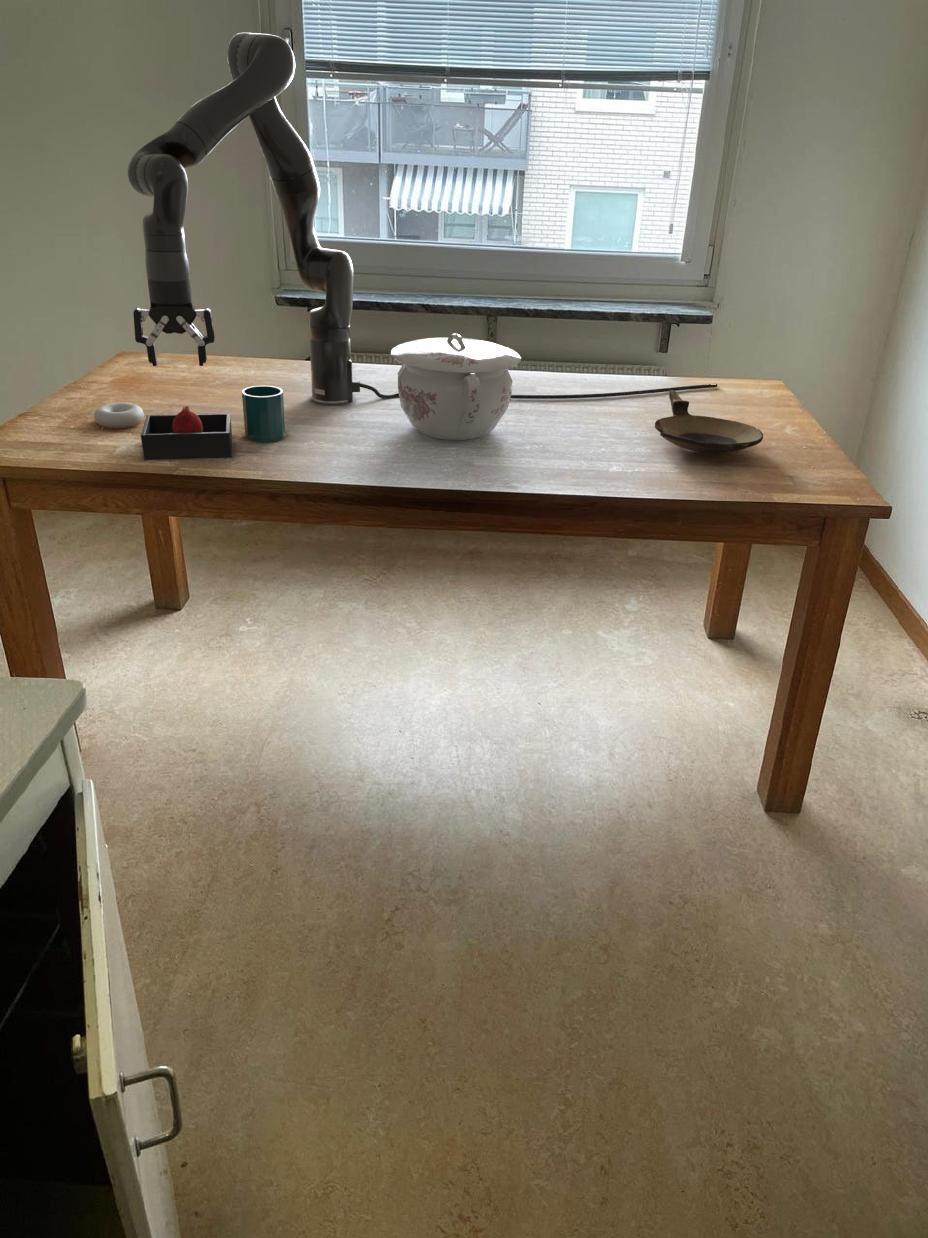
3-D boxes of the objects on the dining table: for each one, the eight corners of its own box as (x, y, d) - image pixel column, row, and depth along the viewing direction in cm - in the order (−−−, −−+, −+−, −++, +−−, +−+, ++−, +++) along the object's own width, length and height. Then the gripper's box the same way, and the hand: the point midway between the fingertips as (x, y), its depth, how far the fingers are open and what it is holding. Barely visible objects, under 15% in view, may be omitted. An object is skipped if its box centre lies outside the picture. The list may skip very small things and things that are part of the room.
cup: (284, 429, 191) (282, 385, 186) (286, 442, 184) (283, 396, 180) (245, 430, 190) (241, 385, 185) (245, 443, 183) (241, 397, 178)
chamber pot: (427, 404, 211) (429, 313, 201) (534, 425, 201) (542, 331, 191) (364, 436, 189) (363, 337, 179) (481, 462, 179) (488, 357, 169)
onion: (200, 451, 176) (195, 411, 172) (170, 449, 176) (165, 410, 172) (207, 441, 181) (203, 402, 177) (179, 440, 181) (174, 401, 177)
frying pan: (657, 465, 182) (663, 428, 178) (646, 420, 208) (651, 387, 204) (768, 473, 181) (777, 437, 177) (743, 427, 206) (750, 394, 202)
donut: (125, 433, 185) (154, 419, 193) (122, 417, 183) (152, 403, 191) (85, 426, 187) (115, 412, 195) (82, 410, 186) (113, 397, 194)
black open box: (232, 436, 186) (230, 413, 183) (231, 457, 175) (229, 432, 173) (149, 438, 182) (146, 414, 180) (144, 460, 172) (140, 435, 169)
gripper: (125, 278, 158) (137, 370, 166) (208, 279, 161) (216, 369, 169) (129, 271, 165) (141, 360, 173) (209, 272, 167) (217, 360, 176)
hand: (178, 365), depth 171 cm, fingers open, 8 cm apart
